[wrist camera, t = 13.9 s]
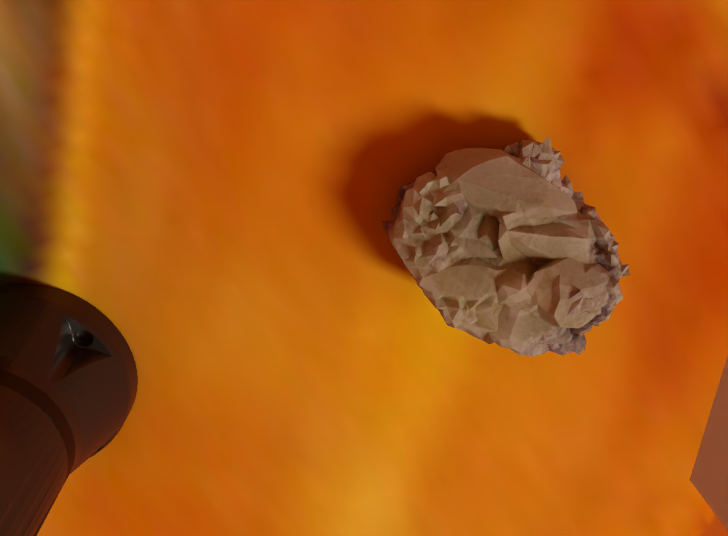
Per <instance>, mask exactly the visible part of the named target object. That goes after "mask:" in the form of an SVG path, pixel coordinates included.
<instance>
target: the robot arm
mask: <svg viewBox="0 0 728 536" xmlns="http://www.w3.org/2000/svg"><path fill="white" fill-rule="evenodd" d="M137 384H138V380H137V369H136V364H135V361H134V357H133V355H132V352H131V350H130V348H129V346H128V344H127V342H126V340H125V339H124V337H123V336H122V334H121V333H120V332H119V330H118V329H117V328H116V327H115V325H114V324H113V323H112V322H111V321H110V320H109V319H108V318H107V317H106V316H104V315H103V314H102V313H101V312H100V311H98V310H97V309H96V308H94V307H93V306H91V305H90V304H88V303H87V302H85V301H83V300H81V299H79V298H77V297H75V296H73V295H71V294H68V293H66V292H63V291H60V290H57V289H53V288H49V287H45V286H39V285H29V284H15V285H5V286H0V536H37V534H38V532H39V530H40V528H41V526H42V525H43V523H44V521H45V519H46V517H47V515H48V513H49V511H50V509H51V508H52V506H53V504H54V502H55V500H56V498H57V496H58V494H59V493H60V491H61V489H62V487H63V485H64V483H65V481H66V479H67V478H68V476H69V474H71V473H72V472H73V471H74V470H75V469H76V468H78V467H79V466H80V465H81V464H82V463H84V462H85V461H86V460H87V459H88V458H90V457H92V456H93V455H95V454H96V453H98V452H99V451H100V450H102V449H103V448H104V447H106V446H107V445H108V444H109V443H110V442H111V441H112V440H113V439H114V437H115V436H116V435H117V434H118V432H119V431H120V429H121V428H122V426H123V424H124V422H125V420H126V418H127V416H128V414H129V412H130V410H131V408H132V406H133V404H134V401H135V397H136V393H137ZM690 481H691V482H692V483H693V485H694V486H695V487H696V489H697V490H698V491H699V493H700V494H701V495H702V497H703V498H704V500H705V501H706V502H707V504H708V505H709V506H710V508H711V509H712V510H713V512H714V513H715V514H716V516H717V517H718V518H719V520H720V521H721V522H722V524H723V525H724V526H725V528H726V529H727V530H728V356H727V359H726V363H725V366H724V369H723V373H722V376H721V379H720V382H719V386H718V389H717V392H716V396H715V399H714V402H713V405H712V409H711V412H710V415H709V419H708V422H707V425H706V428H705V432H704V435H703V438H702V442H701V445H700V448H699V451H698V455H697V458H696V461H695V465H694V468H693V471H692V474H691V478H690Z"/></svg>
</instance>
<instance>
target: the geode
mask: <svg viewBox="0 0 728 536" xmlns="http://www.w3.org/2000/svg"><path fill="white" fill-rule="evenodd" d="M560 152H561V151H556V150H555V149H552V146H551V143H550V139H549V136H548V138H547V139H546V140H545V141H544V143H543V144H542V143H540V142H537V141H535V140H521V142H520V143H518V142H516V143H513V144H511V145H507V146H506V147H505V148H504V149H490V148H466V149H460V150H455V151H452V152H449V153H446V154H445V156H444V157H443V159H442V160H441V161H440V163H439V164H438V165H437V166H436V167H435V170H436V175H435V174H433V173H432V172H431V171H430V172H428V173H426V174H423V175H421V176H419V177H417V179H416V180H415V182H414V183H412V184H406V185H402V186H401V187H400V188H399V190H398V191H397V193H398V200H397V205H396V206H395V207H393V208H392V212H393V215H394V220H392V221H382V223H383V226H384V228H385V230H386V232H387V234H388V236H389V239H390V241H391V243H392V245H393V246H394V248H395V249H396V251H397V252H398V254H399V256H400V257H401V259H402V261H403V263H404V265H405V266H406V268H407V269H408V270H409V271H410V273H411V274H412V276H413V277H414V279H415V280H416V282H417V285H418V286H419V287H420V288H421V289H422V290H423V292H424V294H425V295H426V297H427V298H428V299H429V300H430V301H431V303H432V304H433V305H434V306H435V308H436V309H438V310H439V311H440V313H441V315H442V317H443V318H444V320H445V322H446V324H447V325H448V326H451V327H454V328H457V329H460V330H463V331H465V332H467V333H469V334H470V335H472V336H474V337H476V338H479V339H481V340H483V341H485V342H487V343H488V344H491V343H494V342H495V343H497V344H498V345H500V346H501V347H505V348H510V349H511V350H513V351H514V352H516V353H517V354H520V355H526V356H532V357H533V356H536V355H540V354H543V353H545V352H547V351H552V352H555V353H558V354H561V355H565V354H567V353H570V352H576V353H578V354H581V352H582V351H583V350H584V349H585V345H586V339H585V336H584V333H585V332H587V331H590V330H591V328H592V326H593V325H595V326H599V324H600V322H602V321H606V320H609V317H610V315H611V313H612V311H613V309H614V307H615V306H616V304H617V303H618V302H619V301H621V300H622V299H623V296H622V293H621V289H620V286H619V283H618V282H619V280H620V278H621V277H622V276H626V275H630V274H629V270H628V265H629V264H628V265H622V264H621V262H620V259H619V255H618V252H617V248H618V243H617V242H615V241H614V236H613V235H612V234H611V233H610V232H609V229H608V228H607V227H606V226H605V224H604V223H603V222H602V221H601V220H600V218H599V216H598V215H597V212H596V209H595V207H592V206H589V205H586V204H585V203H584V199H583V195H582V192H575V193H574V191H573V188H572V184H571V182H570V180H569V179H568V178H567V176H566V175H565V177H564V178H563V180H562V182H561V177H560V167H561V166H562V164H563V162H564V160H563V158H562V156H561V155H560Z"/></svg>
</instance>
